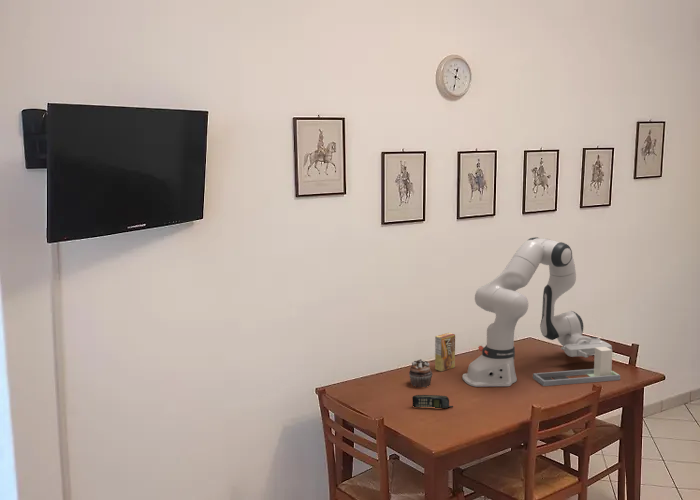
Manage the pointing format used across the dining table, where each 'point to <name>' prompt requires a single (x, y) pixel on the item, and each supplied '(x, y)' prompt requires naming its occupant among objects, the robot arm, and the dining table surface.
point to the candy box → (444, 351)
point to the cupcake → (420, 373)
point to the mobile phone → (431, 401)
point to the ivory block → (602, 361)
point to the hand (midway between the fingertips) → (597, 354)
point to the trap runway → (562, 379)
